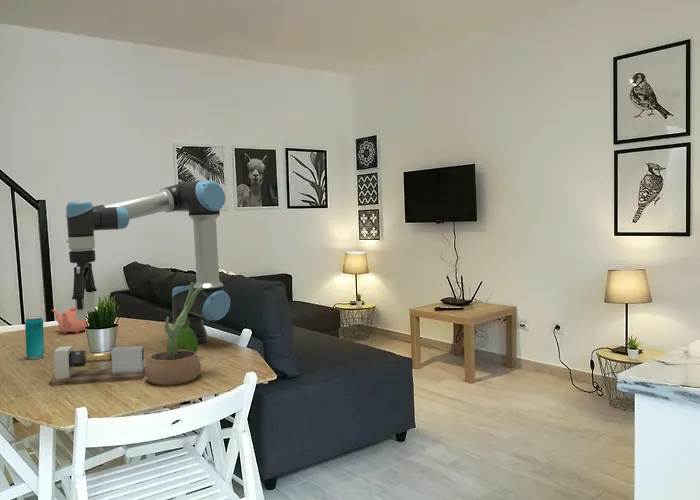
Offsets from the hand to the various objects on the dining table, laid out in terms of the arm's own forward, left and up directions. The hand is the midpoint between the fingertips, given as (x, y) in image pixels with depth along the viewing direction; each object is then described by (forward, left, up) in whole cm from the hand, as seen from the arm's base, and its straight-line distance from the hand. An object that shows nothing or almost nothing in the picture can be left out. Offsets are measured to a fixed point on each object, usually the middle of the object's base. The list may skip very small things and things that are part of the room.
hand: (86, 315), depth 183 cm
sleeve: (-13, +4, -18) cm, 23 cm away
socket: (+6, +4, -19) cm, 21 cm away
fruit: (-30, -13, -20) cm, 38 cm away
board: (-4, +4, -19) cm, 20 cm away
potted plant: (-30, +11, -20) cm, 37 cm away
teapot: (+23, -76, -20) cm, 82 cm away
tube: (-2, +4, -15) cm, 16 cm away
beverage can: (+24, -29, -20) cm, 42 cm away
